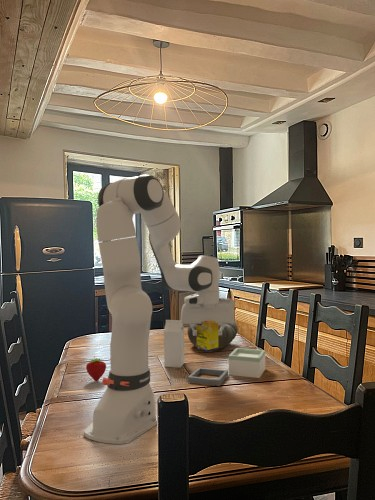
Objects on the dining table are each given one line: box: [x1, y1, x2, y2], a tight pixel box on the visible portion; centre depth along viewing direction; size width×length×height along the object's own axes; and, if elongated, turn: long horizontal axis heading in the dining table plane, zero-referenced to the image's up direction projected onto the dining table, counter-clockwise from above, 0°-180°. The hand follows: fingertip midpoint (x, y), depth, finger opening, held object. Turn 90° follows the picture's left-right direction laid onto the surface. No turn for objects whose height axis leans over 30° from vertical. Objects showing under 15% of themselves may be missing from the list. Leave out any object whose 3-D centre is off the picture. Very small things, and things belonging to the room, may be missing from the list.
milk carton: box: [163, 319, 186, 369], centre depth 169 cm, size 7×7×19 cm
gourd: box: [187, 320, 239, 351], centre depth 198 cm, size 25×25×17 cm
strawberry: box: [85, 355, 107, 382], centre depth 150 cm, size 6×8×10 cm
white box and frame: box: [187, 347, 266, 387], centre depth 155 cm, size 25×24×8 cm
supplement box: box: [196, 321, 218, 353], centre depth 150 cm, size 6×6×11 cm
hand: (207, 335), depth 150 cm, fingers closed on supplement box, 8 cm apart
